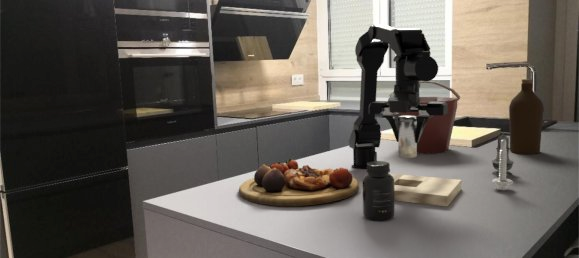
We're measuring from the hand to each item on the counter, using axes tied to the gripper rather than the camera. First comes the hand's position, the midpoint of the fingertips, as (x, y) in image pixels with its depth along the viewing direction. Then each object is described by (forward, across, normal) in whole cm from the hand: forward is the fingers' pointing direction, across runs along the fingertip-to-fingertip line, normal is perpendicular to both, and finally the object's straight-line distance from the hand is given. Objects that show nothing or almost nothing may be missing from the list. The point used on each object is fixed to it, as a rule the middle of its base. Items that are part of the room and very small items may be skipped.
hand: (407, 142), depth 123 cm
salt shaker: (+13, +19, +29) cm, 37 cm away
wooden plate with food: (+14, -27, -8) cm, 32 cm away
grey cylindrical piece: (+4, 0, 0) cm, 4 cm away
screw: (+13, +21, +12) cm, 27 cm away
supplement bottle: (+13, 0, -21) cm, 25 cm away
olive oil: (+13, +22, +65) cm, 70 cm away
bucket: (+13, -11, +59) cm, 61 cm away
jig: (+13, +3, 0) cm, 13 cm away
